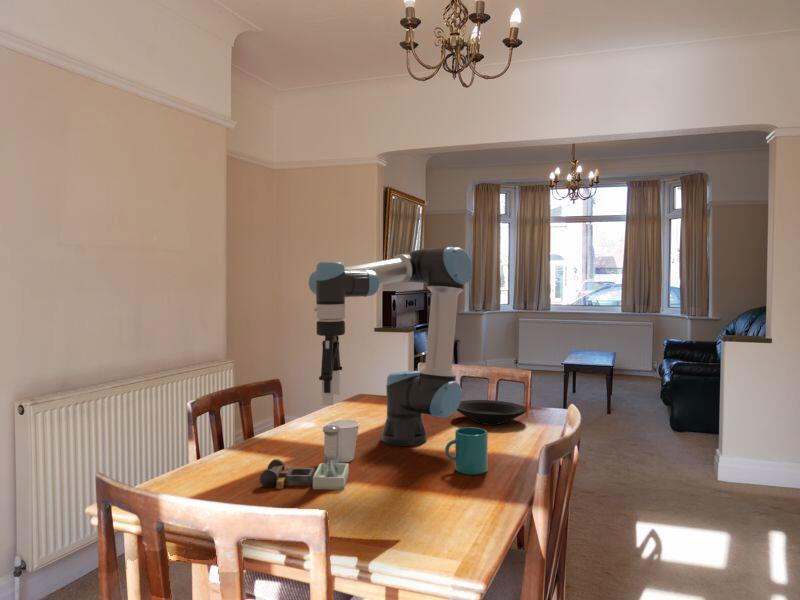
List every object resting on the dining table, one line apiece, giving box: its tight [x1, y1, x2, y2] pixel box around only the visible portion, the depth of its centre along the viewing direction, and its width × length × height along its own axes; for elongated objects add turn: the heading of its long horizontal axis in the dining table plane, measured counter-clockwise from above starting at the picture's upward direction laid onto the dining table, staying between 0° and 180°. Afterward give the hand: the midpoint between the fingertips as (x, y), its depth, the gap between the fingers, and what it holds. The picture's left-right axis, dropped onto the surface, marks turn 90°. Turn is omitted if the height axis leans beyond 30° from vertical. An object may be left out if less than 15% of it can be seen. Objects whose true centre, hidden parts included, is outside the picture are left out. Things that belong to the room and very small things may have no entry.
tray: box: [312, 462, 350, 491], centre depth 160 cm, size 8×12×3 cm, turn 179°
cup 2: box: [444, 426, 489, 476], centre depth 169 cm, size 9×12×11 cm
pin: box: [322, 425, 339, 477], centre depth 160 cm, size 4×4×14 cm
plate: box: [456, 399, 527, 426], centre depth 227 cm, size 28×24×6 cm
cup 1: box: [325, 419, 360, 464], centre depth 179 cm, size 10×10×11 cm
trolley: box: [259, 458, 316, 490], centre depth 160 cm, size 13×11×4 cm
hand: (331, 399), depth 160 cm, fingers open, 13 cm apart
